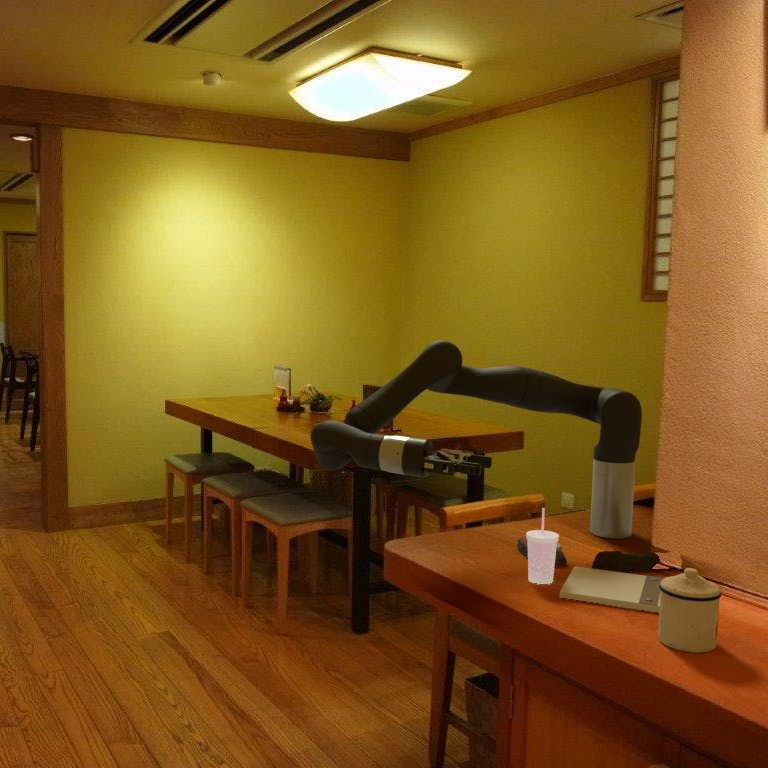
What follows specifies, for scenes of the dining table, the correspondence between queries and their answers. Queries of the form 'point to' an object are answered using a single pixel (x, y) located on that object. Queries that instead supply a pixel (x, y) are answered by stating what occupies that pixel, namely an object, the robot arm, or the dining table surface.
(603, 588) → the floor panel
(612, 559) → the hand tool
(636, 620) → the dining table surface
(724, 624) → the dining table surface
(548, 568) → the beverage cup
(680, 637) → the teacup with lid
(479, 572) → the dining table surface
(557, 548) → the walkie-talkie
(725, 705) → the dining table surface
